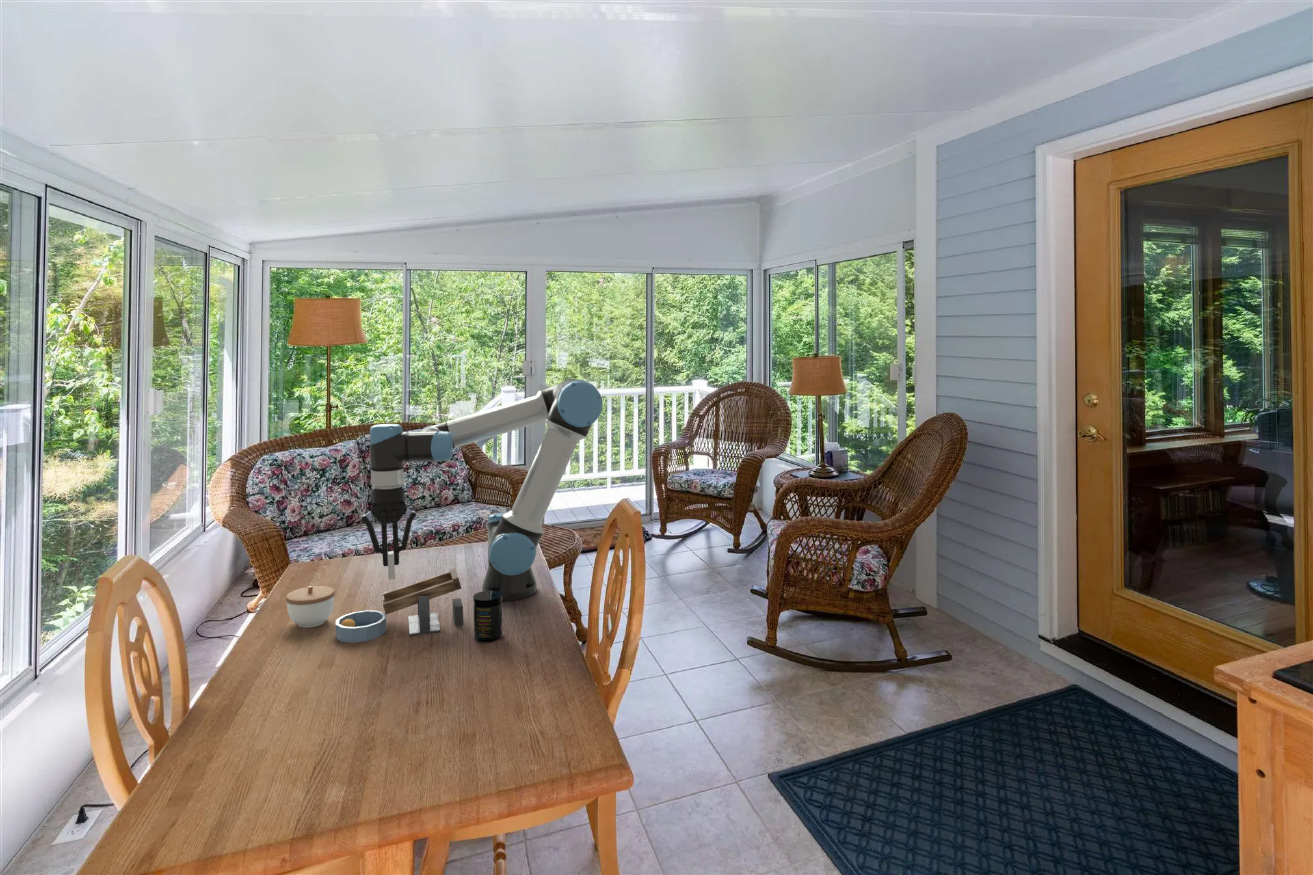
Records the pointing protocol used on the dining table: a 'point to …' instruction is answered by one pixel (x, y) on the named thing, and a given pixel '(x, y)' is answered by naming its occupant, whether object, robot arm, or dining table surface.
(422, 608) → the pivot stand
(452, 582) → the lever
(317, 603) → the lidded jar
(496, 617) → the supplement container
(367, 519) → the robot arm
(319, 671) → the dining table surface
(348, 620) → the ball
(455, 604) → the block
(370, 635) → the bowl
